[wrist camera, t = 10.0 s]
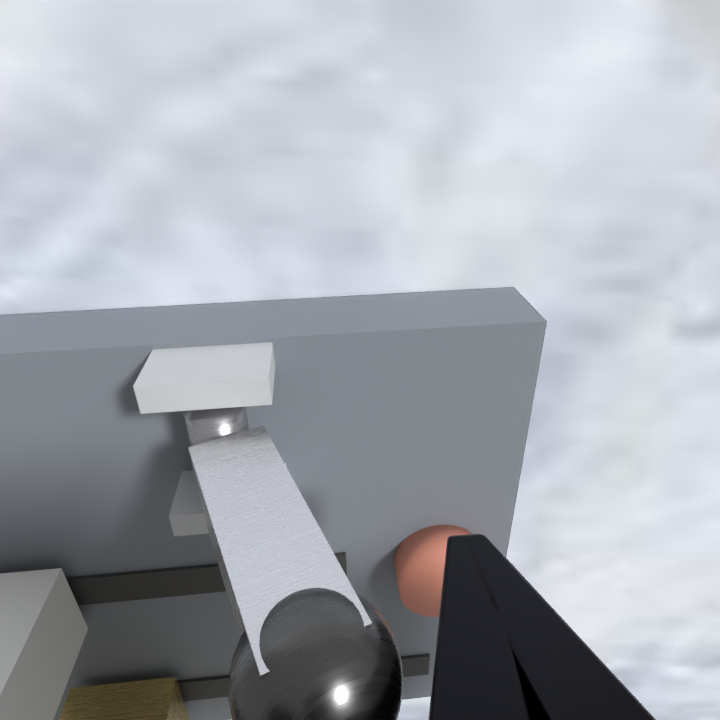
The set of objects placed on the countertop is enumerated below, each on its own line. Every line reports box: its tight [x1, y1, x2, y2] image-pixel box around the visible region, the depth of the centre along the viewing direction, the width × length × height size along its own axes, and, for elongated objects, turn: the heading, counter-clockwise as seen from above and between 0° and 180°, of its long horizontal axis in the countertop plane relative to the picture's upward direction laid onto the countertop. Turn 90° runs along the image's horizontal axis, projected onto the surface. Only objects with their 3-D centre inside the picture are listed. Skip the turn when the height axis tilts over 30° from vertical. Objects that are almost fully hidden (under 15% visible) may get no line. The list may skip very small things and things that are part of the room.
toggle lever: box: [183, 407, 403, 720], centre depth 9 cm, size 2×2×7 cm
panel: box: [0, 287, 547, 720], centre depth 14 cm, size 14×14×3 cm
